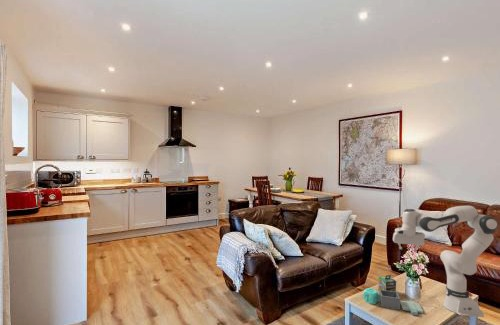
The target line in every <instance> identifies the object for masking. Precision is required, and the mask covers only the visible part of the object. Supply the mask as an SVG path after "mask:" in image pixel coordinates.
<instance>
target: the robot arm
mask: <svg viewBox="0 0 500 325" xmlns="http://www.w3.org/2000/svg"><path fill="white" fill-rule="evenodd" d="M401 217H402V219H401V220H402V224H401V227H397V228H395V229H394V232H393V234H392V241H393V243H395V244H397V245H398V246H399V247H398V249H399V250H403V247H402V246H401V244H402V245H413V246H415V247H413V251H414V252H418V251H417V250H418V248H419V246H424V245H425V244H426V243H425V236H426V234H425V233H424V232H421V231H420V232H419V231H417V227H419V228H420V229H422V230H423V231H425V232H430V233H431V232H434V231H436V230H438V229H439V228H442V227H447V226H450V225H454V224H458V223H463V222H465V224H466V226H468V227H469V228H471V229H473V230H474V232H473V233H472V234H471V235H470V236H469V237H468V238H467V239H466V240H465V241H464V242H463V243H462V244H461V248H462V249H461V250H462V251H461V252H460V253H458V252H456V251H453V250H449V249H445V250H443V251H441V253H440V256H439V257H440V260H441V261H442V263H443V265H444V269H445V274H446V285H445V298H444V301H443V303H442V305H443V307H444V308H445V309H447V310H449V311H450V312H453V313H455V314H458V315H459V316H462V317H480V318H484V316H485V313H484V312H483V310H481V308H480V306H479V304H478V302H477V301H476V300H475V299H473V298H472V297H473V294H472V293H471V292H470V291H469V290H467V278H466V276H465V275H467V276H472V275H474V274H476V273H477V270H478V267H477V260H478V258H479V256H481V254H482V253H483V252H484V251H485V250H487V249H488V247H489V246H490V245H491V244H492V242H493V241H494V238H495V237H494V235H493V234H495V232H496V231H497V229H498V227H499V222H498V220H497V219H496V218H495V217H493V216H491V215H486V214H479V213H478V210H477V209H476V208H475V207H474V206H472V205H458V206H451V207H449V208H447V209H445V214H444V216H439V217H431V216H428V215H426V214H424V213H421V212H419V211H417V210H416V209H414V208H407V209H404V210H403V212H402V216H401Z"/></svg>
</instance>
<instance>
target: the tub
mask: <svg viewBox="0 0 500 325" xmlns="http://www.w3.org/2000/svg"><path fill="white" fill-rule="evenodd" d="M378 294H379V300H378V302H379V306H380V307H381V308H385V309H390V310H391V309H392V310H397V311H400V310H401V305H400V301H401V298H400V296H399V293H398V291H396V292H394V291H387V290H380V289H379V288H378Z"/></svg>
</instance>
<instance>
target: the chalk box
mask: <svg viewBox="0 0 500 325" xmlns="http://www.w3.org/2000/svg"><path fill="white" fill-rule="evenodd" d="M391 276H392V275H391V274H387V275H384V276H378V290H379V289H380V290H387V291H394V292H397V281H396V280H395V279H394V278H392V277H391Z"/></svg>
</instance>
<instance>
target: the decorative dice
mask: <svg viewBox="0 0 500 325" xmlns="http://www.w3.org/2000/svg"><path fill="white" fill-rule="evenodd" d="M362 297H363V299H364V301H365V302H366V303H367V304H371V305H376V304H377V303H378V302H379V291H377V290H376V289H374V288H372V287H367V288H365V289H364V291H363V293H362Z"/></svg>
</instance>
